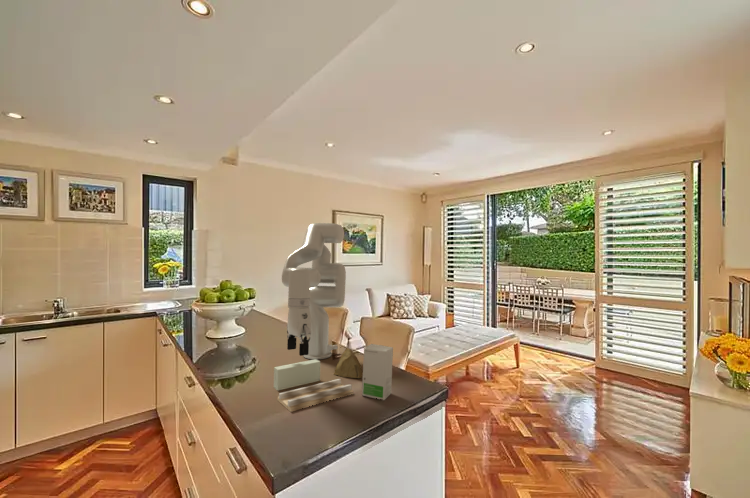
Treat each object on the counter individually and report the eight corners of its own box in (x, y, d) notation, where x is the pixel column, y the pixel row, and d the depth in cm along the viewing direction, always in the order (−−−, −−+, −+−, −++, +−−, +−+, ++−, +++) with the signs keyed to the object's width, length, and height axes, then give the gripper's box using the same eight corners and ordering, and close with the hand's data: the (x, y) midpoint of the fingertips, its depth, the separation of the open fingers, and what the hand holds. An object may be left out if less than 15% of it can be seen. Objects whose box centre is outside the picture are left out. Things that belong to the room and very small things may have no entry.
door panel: (315, 378, 126) (315, 359, 126) (320, 380, 123) (320, 361, 123) (273, 387, 116) (274, 367, 116) (277, 391, 113) (278, 369, 113)
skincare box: (361, 396, 110) (362, 347, 110) (369, 389, 116) (370, 343, 116) (385, 400, 106) (386, 351, 107) (392, 393, 112) (393, 346, 113)
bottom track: (337, 384, 119) (337, 377, 119) (353, 393, 111) (353, 386, 111) (277, 400, 106) (277, 392, 106) (290, 411, 98) (290, 403, 98)
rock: (370, 371, 127) (358, 360, 136) (360, 355, 124) (348, 345, 132) (349, 392, 123) (337, 379, 132) (337, 376, 120) (326, 365, 128)
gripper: (320, 304, 116) (319, 355, 115) (298, 300, 129) (296, 345, 128) (300, 306, 111) (298, 359, 110) (279, 301, 125) (277, 348, 124)
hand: (297, 352), depth 119 cm, fingers open, 9 cm apart
